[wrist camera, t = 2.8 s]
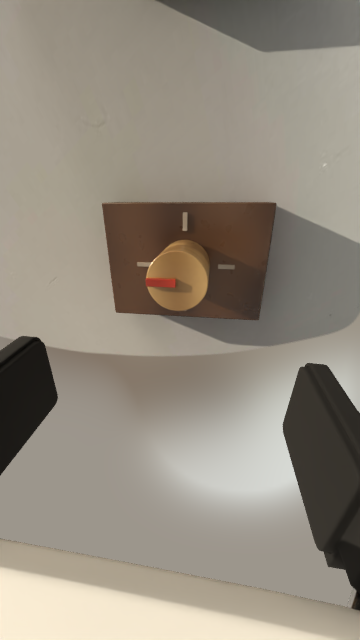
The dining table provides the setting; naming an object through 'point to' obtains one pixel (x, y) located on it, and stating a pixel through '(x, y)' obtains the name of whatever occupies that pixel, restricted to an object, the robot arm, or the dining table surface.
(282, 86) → the dining table surface
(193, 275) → the dial
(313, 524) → the robot arm
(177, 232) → the panel
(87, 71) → the dining table surface
